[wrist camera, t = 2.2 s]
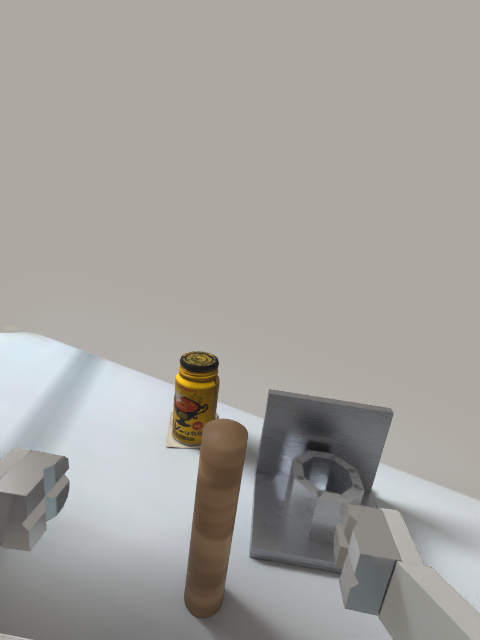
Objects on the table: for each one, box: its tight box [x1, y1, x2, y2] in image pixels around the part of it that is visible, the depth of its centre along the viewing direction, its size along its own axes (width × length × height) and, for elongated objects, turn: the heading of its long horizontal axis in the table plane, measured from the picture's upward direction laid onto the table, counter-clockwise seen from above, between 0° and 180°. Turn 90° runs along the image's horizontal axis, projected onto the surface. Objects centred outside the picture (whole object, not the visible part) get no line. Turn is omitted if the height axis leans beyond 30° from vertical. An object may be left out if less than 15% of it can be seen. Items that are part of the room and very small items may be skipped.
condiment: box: [166, 352, 219, 448], centre depth 48 cm, size 7×8×12 cm
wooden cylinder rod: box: [184, 419, 248, 618], centre depth 26 cm, size 3×3×16 cm
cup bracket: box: [250, 389, 394, 573], centre depth 35 cm, size 12×14×12 cm
